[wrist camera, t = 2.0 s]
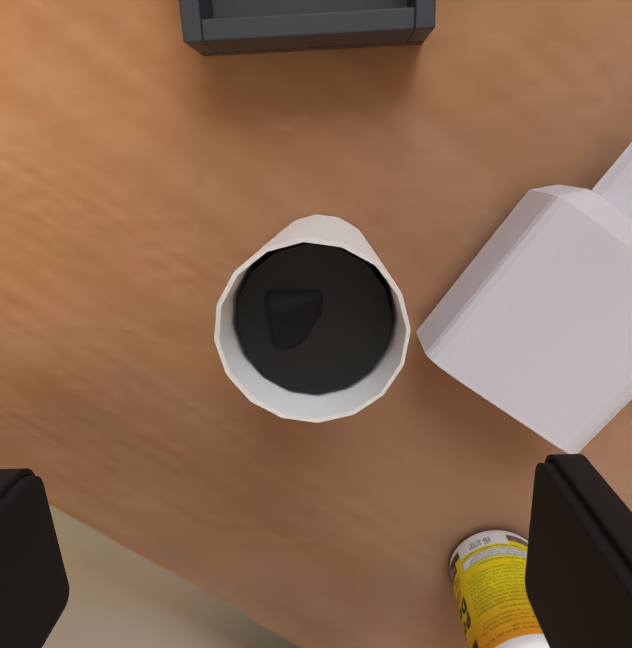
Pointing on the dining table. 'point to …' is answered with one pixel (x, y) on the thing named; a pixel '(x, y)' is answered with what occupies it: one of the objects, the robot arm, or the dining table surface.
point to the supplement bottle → (494, 592)
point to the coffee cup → (312, 323)
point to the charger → (548, 311)
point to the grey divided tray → (302, 24)
